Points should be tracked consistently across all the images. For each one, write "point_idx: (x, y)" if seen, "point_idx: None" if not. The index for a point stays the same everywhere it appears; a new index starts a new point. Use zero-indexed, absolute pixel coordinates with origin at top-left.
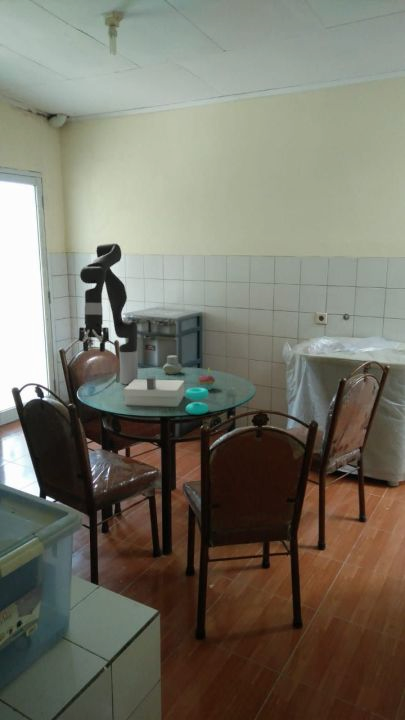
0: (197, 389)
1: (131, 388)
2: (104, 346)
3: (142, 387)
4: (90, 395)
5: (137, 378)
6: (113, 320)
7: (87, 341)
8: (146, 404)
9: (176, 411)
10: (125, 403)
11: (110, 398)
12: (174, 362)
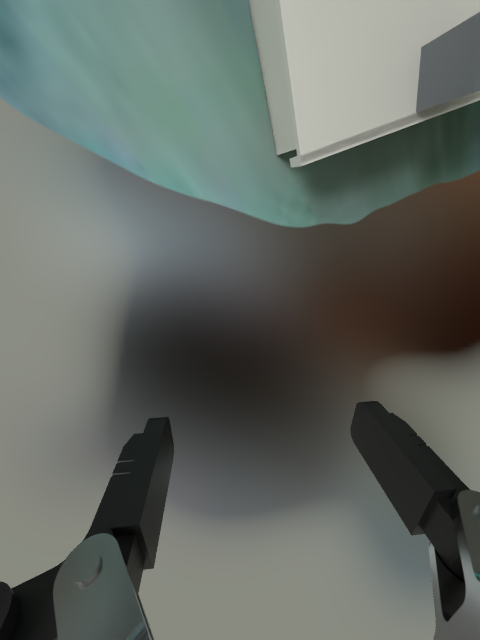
0: None
1: (333, 129)
2: (429, 457)
3: (384, 76)
4: (3, 47)
5: None
6: None
7: (127, 566)
8: None
9: (469, 147)
10: (278, 154)
11: (148, 65)
12: None
